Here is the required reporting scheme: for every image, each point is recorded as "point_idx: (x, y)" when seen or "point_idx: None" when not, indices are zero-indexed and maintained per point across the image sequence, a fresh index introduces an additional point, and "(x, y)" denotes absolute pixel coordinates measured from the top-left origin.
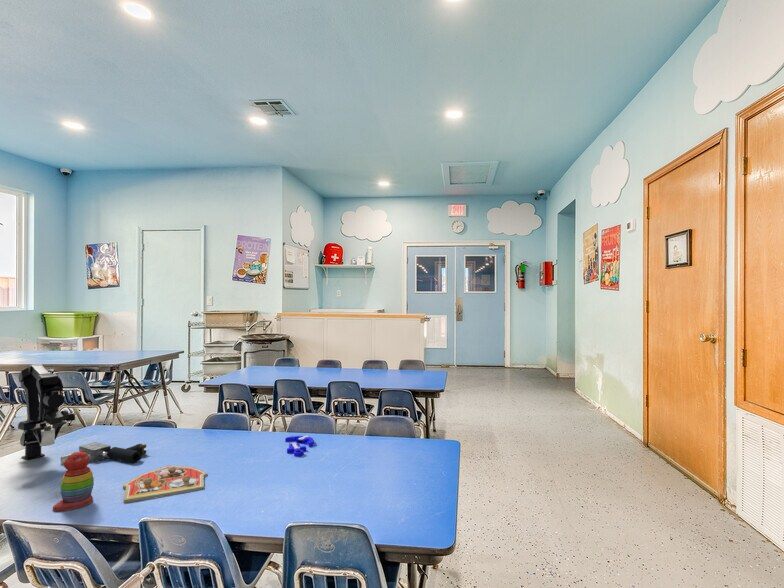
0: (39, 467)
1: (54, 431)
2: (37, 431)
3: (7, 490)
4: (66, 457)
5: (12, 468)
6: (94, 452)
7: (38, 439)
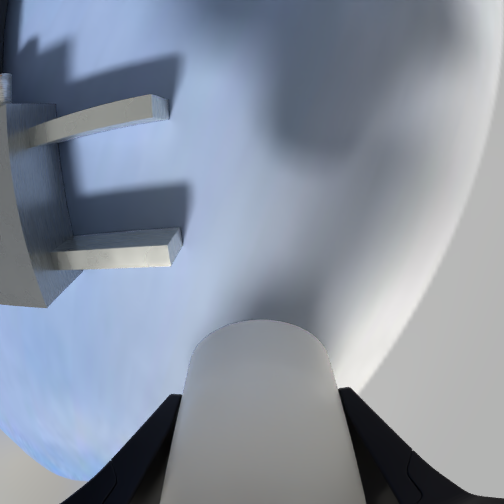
0: (288, 282)
1: (173, 485)
2: (467, 502)
3: (498, 63)
4: (142, 241)
5: (356, 370)
6: (15, 104)
7: (375, 425)
